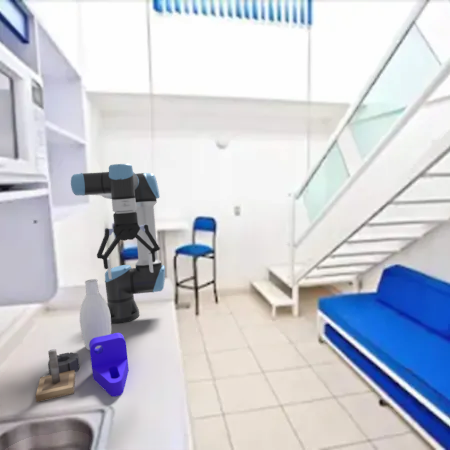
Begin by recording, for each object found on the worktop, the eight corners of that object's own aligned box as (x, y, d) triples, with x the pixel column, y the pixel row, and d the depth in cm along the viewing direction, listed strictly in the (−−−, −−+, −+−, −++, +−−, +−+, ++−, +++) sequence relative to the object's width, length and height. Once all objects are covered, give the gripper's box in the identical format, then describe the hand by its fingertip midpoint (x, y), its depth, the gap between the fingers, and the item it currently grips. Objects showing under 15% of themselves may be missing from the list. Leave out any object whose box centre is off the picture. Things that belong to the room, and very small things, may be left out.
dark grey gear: (51, 367, 128) (49, 356, 127) (79, 361, 131) (78, 350, 130) (48, 380, 119) (47, 368, 119) (78, 373, 122) (77, 361, 122)
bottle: (93, 338, 149) (86, 276, 146) (118, 339, 147) (112, 276, 144) (76, 351, 138) (68, 285, 135) (104, 352, 136) (96, 285, 133)
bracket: (92, 373, 122) (88, 338, 121) (126, 364, 126) (123, 331, 125) (97, 402, 106) (93, 362, 104) (136, 391, 110) (132, 353, 109)
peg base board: (41, 383, 118) (36, 346, 116) (75, 375, 121) (71, 340, 119) (36, 402, 107) (31, 362, 106) (73, 393, 111) (69, 354, 109)
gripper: (84, 216, 114) (92, 283, 117) (165, 208, 124) (170, 271, 126) (84, 214, 121) (91, 278, 124) (160, 207, 130) (165, 266, 133)
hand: (131, 275), depth 125 cm, fingers open, 13 cm apart
